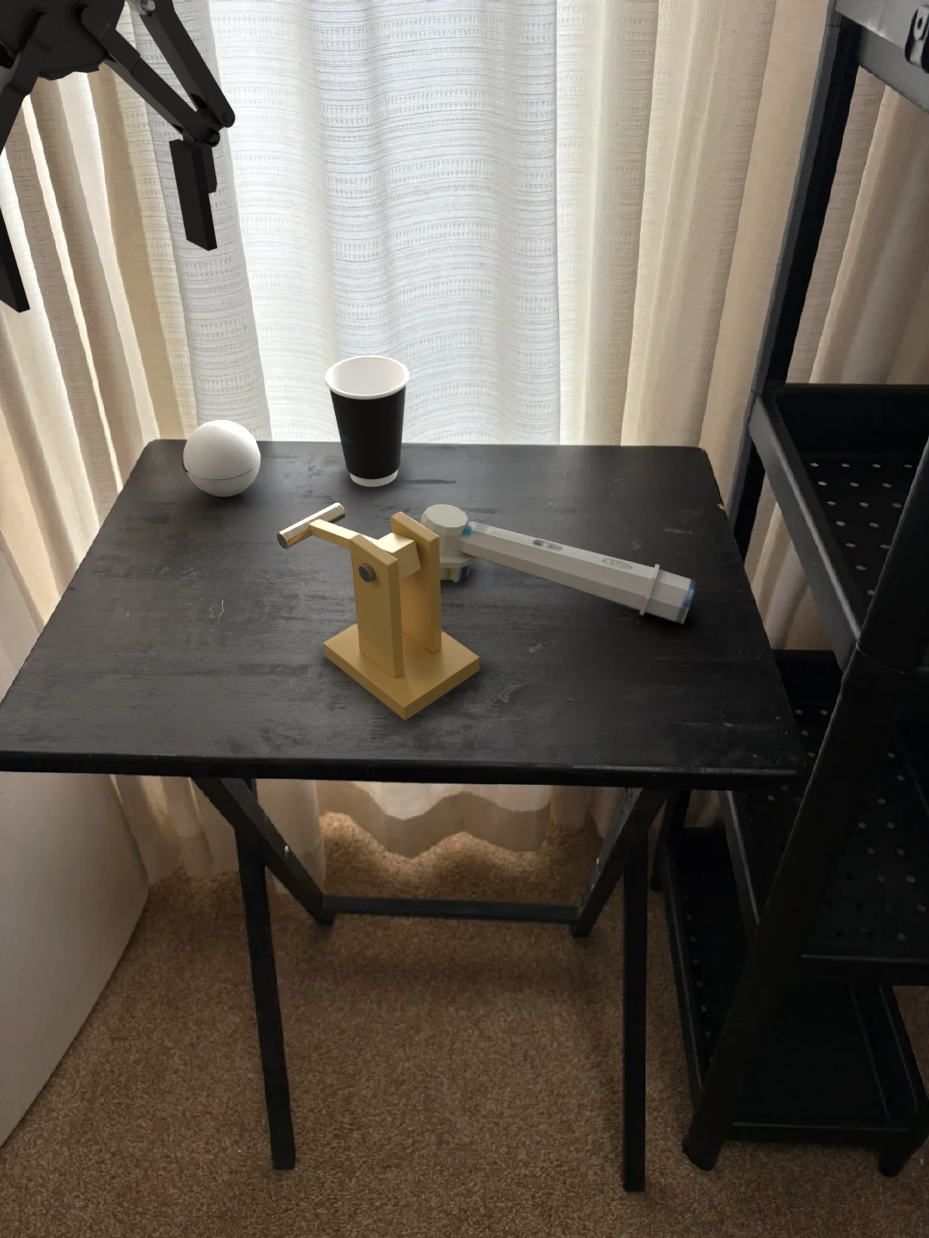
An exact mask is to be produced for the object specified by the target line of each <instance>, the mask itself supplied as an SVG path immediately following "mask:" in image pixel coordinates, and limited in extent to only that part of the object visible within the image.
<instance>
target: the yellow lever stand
mask: <svg viewBox="0 0 929 1238" xmlns="http://www.w3.org/2000/svg"><path fill="white" fill-rule="evenodd" d="M390 525H391V526H390V527H391V529H390V530H391V533H394V534H397V535H400V536H403V537H406V538H409V539H412V540H414V541H415V543H416V548H417V552H418V556H419V561H420V565H421V569H420V570H418V571H417V572H415V573H413V574H411V575H410V576H408V577H406V578H405V579H403V580H401V581H399V568H398V560H397V559H396V558H394V557H393V556H392V555H390V554H389V553H387V552H386V551H384V550H383V549H381V548H380V547H378V546H377V545H375V544H374V543H372V542H371V541H370V540H368V539H367V538H365V537H364V536H362V535H363V534H362V533H359V534H357V535H356V536H354V537H352V538H350V539H349V542H350V549H349V552H350V561H351V562H350V563H351V573H352V583H353V594H354V595H353V596H354V604H355V615H356V623H354V624H353V625H351V626H349V627H347V628H346V629H344V630H342V631H341V632H339V633H338V634H336V635H334V636H333V637H331V638H329V639H327V640H326V641H324V642H322V643H323V652H324V657H325V658H327V659H328V660H329V661H330V662H332V663H333V664H334V665H335V666H337V667H338V668H339V669H340V670H341V671H342V672H344V673H345V674H347V675H348V676H349V677H350V678H351V679H352V680H354V681H355V682H357V684H359V685H360V686H361V687H362V688H363V689H364V690H366V691H367V692H369V694H371V695H373V696H374V697H375V698H376V699H377V700H379V701H380V702H381V703H383V704H384V705H385V706H386V707H388V708H389V709H390V711H393V713H395V714H396V715H398V716H399V717H400V718H401V719H402V720H404V721H407V720H409V719H410V718H412V717H413V716H414V715H416V714H417V713H419V712H421V711H422V710H423V709H425V708H426V707H428V706H429V705H430V704H432V703H434V702H435V701H437V700H438V699H439V698H441V697H442V696H444V695H445V694H447V693H449V692H450V691H452V690H453V689H454V688H456V687H457V686H459V685H460V684H462V683H463V682H465V681H466V680H468V679H469V678H471V677H472V676H473V675H475V674H476V673H478V672H479V671H480V668H481V667H480V662H481V661H480V659H481V658H480V656H479V655H477V654H476V653H475V652H473V651H472V650H470V649H469V648H468V647H466V646H465V645H463V644H462V643H460V642H459V641H458V640H456V639H455V638H454V637H452V636H451V635H449V634H448V633H447V632H445V631H444V630H442V597H441V596H442V595H441V592H442V591H441V580H440V546H439V536H438V535H436V534H435V533H433V532H432V531H430V530H428V529H427V528H425V527H424V526H422V525H421V524H420V522H418V521H417V520H414V518H412V517H410V516H408V515H407V514H405V513H403V512H402V511H398V512H396V513H395V514H392V515H391V516H390ZM361 534H362V535H361Z"/></svg>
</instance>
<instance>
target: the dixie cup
mask: <svg viewBox="0 0 929 1238" xmlns="http://www.w3.org/2000/svg"><path fill="white" fill-rule="evenodd" d="M409 381H410V373H409V370H408V368H407V367H406V366H405V365H404V364H403V363H401V362H399V361H397V360H395V359H393V358H389V357H385V356H379V355H362V356H361V355H359V356H354V357H349V358H346V359H344V360H341V361H339V362H336V363H335V364H334V365H332V366H331V367H330V368H329V369H328V370H327V371H326V373H325V376H324V383H325V385H326V387H327V388H328V390H329V394H330V398H331V403H332V407H333V412H334V417H335V421H336V426H337V429H338V434H339V439H340V445H341V448H342V449H341V450H342V455H343V458H344V463H345V467H346V470H347V471H348V473H349V475H350V479H351V480H352V481H353V482H354V483H355V484H357V485H359V486H363V487H367V488H368V487H369V488H377V487H381V486H385V485H386V486H387V485H388V484H390V483H392V482H393V481H394V480H396V478H397V476H398V470H399V468H400V467H401V457H402V445H403V444H402V443H403V432H404V431H403V430H404V418H405V417H404V416H405V406H406V404H405V402H406V391H407V384H408V383H409Z"/></svg>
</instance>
